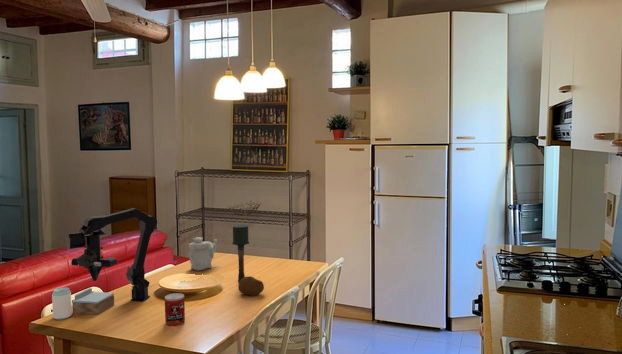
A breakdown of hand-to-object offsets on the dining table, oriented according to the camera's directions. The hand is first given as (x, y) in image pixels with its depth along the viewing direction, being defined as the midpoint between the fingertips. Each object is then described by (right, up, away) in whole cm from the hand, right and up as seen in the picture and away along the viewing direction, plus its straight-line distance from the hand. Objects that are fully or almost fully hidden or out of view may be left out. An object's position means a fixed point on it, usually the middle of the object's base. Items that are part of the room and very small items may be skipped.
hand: (94, 280), depth 208 cm
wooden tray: (-1, -13, +1) cm, 13 cm away
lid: (-1, -8, +1) cm, 8 cm away
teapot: (+32, -8, +70) cm, 77 cm away
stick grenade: (+59, -10, +38) cm, 70 cm away
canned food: (+40, -14, -16) cm, 45 cm away
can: (-10, -14, -8) cm, 19 cm away
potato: (+66, -11, +19) cm, 69 cm away
